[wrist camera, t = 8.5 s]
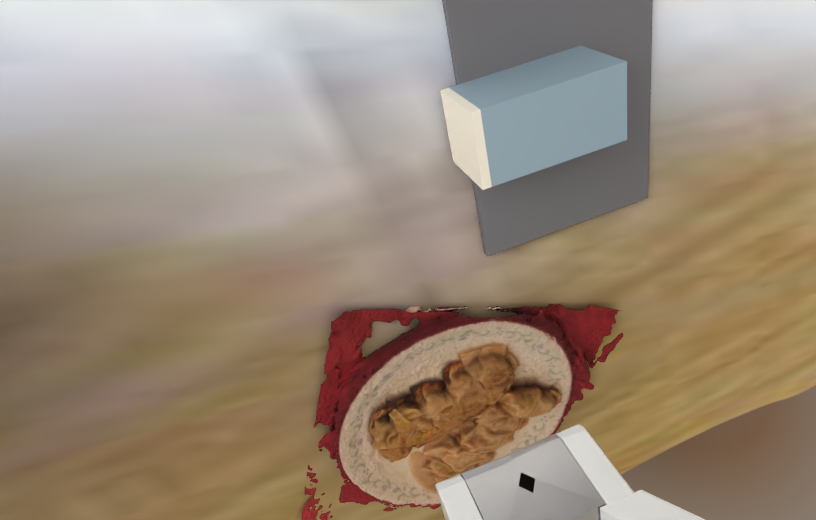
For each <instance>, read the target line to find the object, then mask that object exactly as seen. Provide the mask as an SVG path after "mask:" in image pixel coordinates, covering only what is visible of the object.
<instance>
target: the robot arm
mask: <svg viewBox="0 0 816 520" xmlns="http://www.w3.org/2000/svg"><path fill="white" fill-rule="evenodd" d="M435 487H436V490H437V493H438V497H439V500H440V503H441V507H442V510H443V513H444V516H445V519H446V520H705V519H703V518H701V517H698V516H696V515H694V514H692V513H690V512H688V511H686V510H684V509H681V508H679V507H677V506H675V505H673V504H671V503H669V502H667V501H665V500H662V499H660V498H658V497H656V496H654V495H652V494H650V493H648V492H646V491H643V490H639V491H636V492H634V491H633V490H632V489H631V488H630V486H629V485H628V484H627V482H626V481H625V480H624V478H623V477H622V476H621V474H620V473H619V472H618V470H617V469H616V468H615V467H614V465H613V464H612V463H611V461H610V460H609V459H608V457H607V456H606V455H605V453H604V452H603V451H602V450H601V448H600V447H599V446H598V444H597V443H596V442H595V440H594V439H593V438H592V436H591V435H590V434H589V433H588V431H587V430H586V429H585V428H584V427H583V426H581V425H575V426H573V427H570V428H568V429H566V430H564V431H561V432H559V433H557V434H555V435H554V434H552V435H550V436H548V437H545V438H543V439H541V440H539V441H536V442H534V443H532V444H529V445H527V446H525V447H523V448H520V449H518V450H516V451H514V452H511V453H509V454H508V455H506V456H504V457H501V458H499V459H496V460H494V461H491V462H489V463H486V464H484V465H481V466H479V467H476V468H474V469H471V470H469V471H467V472H464V473H462V474H461V475H460V474H458V475H456V476H454V477H451V478H449V479H446V480H444V481H442V482H439V483H437V484H436V485H435Z"/></svg>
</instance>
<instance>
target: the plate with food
mask: <svg viewBox="0 0 816 520" xmlns="http://www.w3.org/2000/svg"><path fill="white" fill-rule="evenodd" d="M486 306H487V305H486ZM488 308H489V309H487V308H486V310H491V307H490V306H488ZM457 309H460V310H462V309H467V307H466V306H465V307H446V308H443V307H441V308H436V309H434V310H435V311H437V312H432V310H431V308H429V309H428V310H422V308H421V306H412V307H409V308H408V309H407V310H406V311H401V310H396V309H381V310H380V309H377V310H365V309H364V310H354V311H352V312H344V313H343V314H342V315H341V316H340V317H339V318H338V319H337V320H335V321H332V323H331V330H332V332H331V334H330V337H329V349H328V352H327V355H326V362H325V372H324V373H325V374H328V377H327V379H326V380H325V381H324V383H323V384H321V390H320V395H319V401H318V410H317V416H316V421H315V424H314V428H315V426H316V424H317V423H322V424H324V425H328V426H330V433H327V434H325V435H324V436H323V438H322V440H321V441H320V442H319V446H318V448H321V447H323V446H324V447H325V448H327V449H328V450H329V451H330V458H331V459H335V458H336V457H337V458H336V460H337V463H338V464H339V465H338V466H337V468H340V470H341V475H342V477H343V479H346V480H345V481H344V483H346V484H345V485H343V486H342V487H341V493H340V498H339V500H340V503H345V502H356V503H360V504H364V505H366V504H368V503H369V502H371V501H379V502H381V503H384V502H385V505H387V506H388V505H389V504H392V505H394V506H393V507H395V506H397V507H399V505H400V506H401V507H402V506H405V505H411V506H410V507H417V506H422V507H431V508H432V509H436V508H438V507H439V506H441V503H440V500H439V497H438V493H437V490H436V487H435V485H436V484H437V483H439V482H442V481H444V480H446V479H449V478H451V477H454V476H456V475H458V474H460V475H461V474H462V473H464V472H467V471H469V470H471V469H474V468H476V467H479V466H481V465H484V464H486V463H489V462H491V461H494V460H496V459H499V458H501V457H504V456H506V455H508V454H509V453H511V452H514V451H516V450H518V449H520V448H523V447H525V446H527V445H529V444H532V443H534V442H536V441H539V440H541V439H543V438H545V437H548V436H550V435H552V434H554V433H555V432H556V431H557V430H558V428H559V427H560V425H561V422H563V417H564V416H566V415H567V413H568V411H569V410H570V409H571V405H572V404H573V403H574V401H576V400H579V401H580V400H582V399H583V394H582V393H581V389H582V388H586V389H589V390H591V389H593V388H594V385H592V384H591V383H590V382H589V379H590V372H589V367H590V368H593V366H594V365H595V363H597V361H600V362H605V360H606V358H607V356H608V355H609V354H610V352H611V351H612V350H613V349H614V348H615V346H616V344H617V343H618V342H619V340H620V339H621V338H622V337H623V333H621V334H619V335H618V336H617V337H616V339H614V340H613V341H612V342H611V343H609V344H607V345H605V346H604V347H603V349H602V355H601V356H600V357H598V358H597V361H595V363H593V360H595V358H596V356H595V354H596V353H597V352H598V348H599V346H600V345H601V343H602V338H603V337H604V336H608V335H610V334H611V329H612V327H611V326H612V325H611V323H612V324H614V323H616V321H615V316H614V315H615V314H617V312H618V311H619V310H615V309H610V308H598V307H595V306H593V305H589V306H588V308H587V309H584V310H576V311H571V310H569V309H566V308H563V307H562V305H560V304H557V305H552V304H549V305H548V307H541V308H537V307H533V308H530V307H520V308H512V309H509V308H507V309H501V308H500V307H498V306H495V307H494V308H492V310H497V311H498V310H499V311H501V312H509V311H511V312H516V313H517V314H521V315H517V316H509V317H501V318H497V317H493V318H490V317H488V318H484V319H481V318H468V317H463V316H460V315H461V313H459V312H452V311H455V310H457ZM414 318H417V319H418V320H419V322H420V324H419V325H418V326H417V327H415V328H413V329H412V330H410V331H408V332H406V333H403V334H401V335H400V336H399V337H397V338H396V339H394V340H393V341H391V342H389V343H388V344H386V345H384V346H383V347H381V348H380V349H379V350H376V351H374V352H373V353H372V354H370V355H369V356H368V357H366V358H365V357H364V358H362V353H361V348H357V346H361V345H362V343H363V341H364V340H365V338H366V337H368V338H370V337H371V333H370V332H371V323H372V322H374V321H383V322H388V323H391V322H392V321H393V320H399V321H400V323H401V325H403V326H409V324H410V322H411V320H412V319H414ZM583 351H584V353H583ZM583 354H585V356H586V360H587V361H588V364H589V366H588V364H587V362H586V360H585V358H584V356H583ZM336 365H337V366H338V367H337V368H336ZM319 451H322V449H319ZM335 456H336V457H335ZM308 469H309V470H311V471H312V468H310V466H309V465H308ZM312 474H313V476H312ZM315 475H316V473H309V472H307V476H310V477H309V478H311V480H310V481H312V482H315V483H317V482H318V480H317V479H312V478H313V477H315ZM347 480H350V481H349V482H347ZM349 484H350V485H349ZM310 485H311V484H310ZM358 488H359V489H358ZM315 491H316V488H312V489H307V488H306V487H305V494H308V495H312V497H311V498H310V499H309V501H308V502H307V504H305V506H304V508H303V511H302V520H317V519H315V518H316V516H317V512H318V511H319V510H320V509H321V508H322V506H321V505H320V506H319V508H318V509H317V510H315V507H316V506H314V505H315V504H318V502H319V500H320V498H319V499H314V495H315ZM324 494H325V493H323V494H321V495H324ZM310 507H312V510H311V511H310V510H309V508H310ZM330 507H331V504H330V506H329V508H330ZM394 509H397V508H394ZM392 510H393V508H385V509H384V511H392ZM329 513H330V511H329V512H327V513H324V514H321V515H320V519H321V520H327V518H326V517H327V515H328V514H329ZM332 517H333V516H332V515H331V516H330V518H332Z"/></svg>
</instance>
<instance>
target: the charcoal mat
mask: <svg viewBox="0 0 816 520" xmlns="http://www.w3.org/2000/svg"><path fill="white" fill-rule="evenodd" d="M442 1H443V7H444V13H445V19H446V25H447V31H448V37H449V43H450V49H451V55H452V61H453V68H454V74H455V80H456V85H459V84H462V83H465V82H468V81H471V80H474V79H478V78H481V77H484V76H487V75H490V74H493V73H496V72H499V71H503V70H506V69H509V68H512V67H515V66H518V65H521V64H524V63H528V62H531V61H534V60H537V59H540V58H543V57H546V56H549V55H553V54H556V53H559V52H562V51H565V50H568V49H571V48H575V47H578V46H584V47H587V48H590V49H593V50H596V51H599V52H602V53H604V54H607V55H610V56H613V57H616V58H619V59H622V60H625V61H627V140H625V141H622V142H619V143H617V144H614V145H611V146H608V147H605V148H602V149H599V150H596V151H594V152H591V153H588V154H585V155H582V156H579V157H576V158H574V159H571V160H568V161H565V162H562V163H559V164H556V165H553V166H551V167H548V168H545V169H542V170H539V171H536V172H533V173H531V174H528V175H525V176H522V177H519V178H516V179H513V180H510V181H508V182H505V183H502V184H499V185H496V186H493V187H490V188H488V189H485V190H482V189H481V188H480V187H479V186H478V185H477V184H476V183H475V182H474V181H473V180H472V182H473V188H474V194H475V200H476V206H477V212H478V218H479V224H480V230H481V236H482V242H483V248H484V253H485V254H486V255H487V256H490V255H493V254H495V253H498V252H501V251H504V250H506V249H509V248H512V247H515V246H517V245H520V244H523V243H525V242H528V241H531V240H534V239H536V238H539V237H542V236H545V235H547V234H550V233H553V232H556V231H558V230H561V229H564V228H567V227H569V226H572V225H575V224H578V223H580V222H583V221H586V220H588V219H591V218H594V217H597V216H599V215H602V214H605V213H608V212H610V211H613V210H616V209H619V208H621V207H624V206H627V205H630V204H632V203H635V202H638V201H641V200H643V199H646V198H648V176H649V131H650V86H651V41H652V0H442Z"/></svg>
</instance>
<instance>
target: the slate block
mask: <svg viewBox="0 0 816 520" xmlns="http://www.w3.org/2000/svg"><path fill="white" fill-rule="evenodd" d="M440 92H441V98H442V103H443V108H444V114H445V119H446V125H447V130H448V136H449V141H450V146H451V152H452V157H453V162H454V163H455V164H456V165H457V166H458V167H459V168H460V169H462V170H463V171H464V172H465V173H466V174H467V175H468V176H469V177H470V178H471V179H472V180H473V181H474V182H475V183H476V184H477V185H478V186H479V187H480V188H481V189H482V190H485V189H488V188H490V187H493V186H496V185H499V184H502V183H505V182H508V181H510V180H513V179H516V178H519V177H522V176H525V175H528V174H531V173H533V172H536V171H539V170H542V169H545V168H548V167H551V166H553V165H556V164H559V163H562V162H565V161H568V160H571V159H574V158H576V157H579V156H582V155H585V154H588V153H591V152H594V151H596V150H599V149H602V148H605V147H608V146H611V145H614V144H617V143H619V142H622V141H625V140H627V61H625V60H622V59H619V58H616V57H613V56H610V55H607V54H604V53H602V52H599V51H596V50H593V49H590V48H587V47H584V46H578V47H575V48H571V49H568V50H565V51H562V52H559V53H556V54H553V55H549V56H546V57H543V58H540V59H537V60H534V61H531V62H528V63H524V64H521V65H518V66H515V67H512V68H509V69H506V70H503V71H499V72H496V73H493V74H490V75H487V76H484V77H481V78H478V79H474V80H471V81H468V82H465V83H462V84H459V85H456V86H452V87H449V88H446V89H443V90H440Z"/></svg>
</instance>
